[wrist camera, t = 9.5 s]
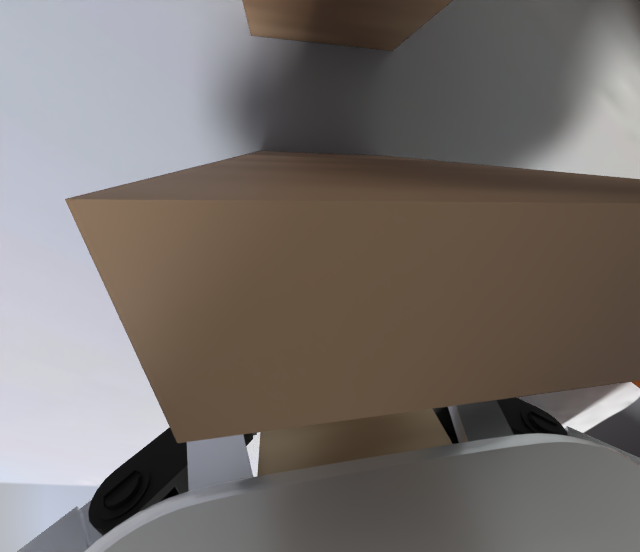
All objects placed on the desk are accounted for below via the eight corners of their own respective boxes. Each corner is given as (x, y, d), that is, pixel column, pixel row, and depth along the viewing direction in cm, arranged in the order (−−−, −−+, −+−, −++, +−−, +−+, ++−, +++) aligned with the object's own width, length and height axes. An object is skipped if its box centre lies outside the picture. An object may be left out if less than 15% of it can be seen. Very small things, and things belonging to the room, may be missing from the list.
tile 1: (263, 192, 10) (178, 442, 2) (259, 150, 10) (66, 199, 1) (372, 193, 11) (718, 369, 2) (378, 155, 10) (920, 204, 2)
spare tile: (272, 313, 13) (258, 620, 5) (270, 289, 13) (249, 603, 4) (357, 307, 14) (480, 565, 5) (360, 284, 13) (509, 542, 5)
